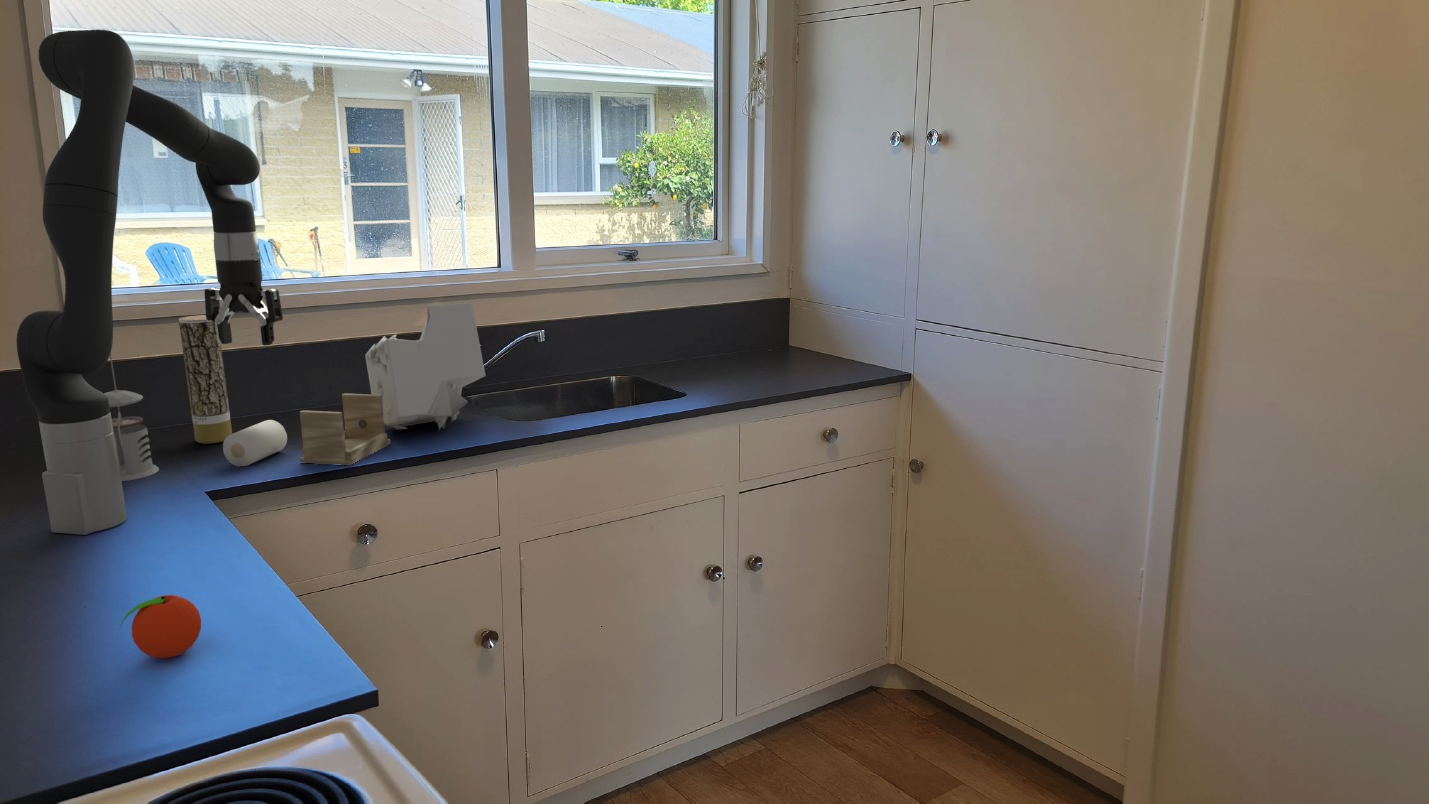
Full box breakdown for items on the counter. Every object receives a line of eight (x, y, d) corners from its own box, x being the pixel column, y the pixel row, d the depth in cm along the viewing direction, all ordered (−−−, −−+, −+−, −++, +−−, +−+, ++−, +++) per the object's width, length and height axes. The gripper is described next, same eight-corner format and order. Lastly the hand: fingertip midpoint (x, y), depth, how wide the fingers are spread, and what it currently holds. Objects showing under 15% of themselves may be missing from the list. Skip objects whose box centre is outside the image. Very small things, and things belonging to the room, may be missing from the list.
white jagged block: (396, 434, 192) (373, 309, 194) (374, 444, 205) (353, 327, 207) (494, 419, 204) (472, 302, 205) (467, 429, 217) (446, 319, 218)
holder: (349, 466, 181) (344, 413, 179) (300, 463, 183) (294, 411, 181) (390, 443, 196) (386, 395, 193) (344, 441, 198) (340, 393, 195)
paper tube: (217, 445, 195) (201, 321, 190) (187, 443, 197) (170, 320, 191) (240, 436, 202) (225, 315, 196) (211, 434, 203) (195, 314, 197)
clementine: (129, 678, 107) (119, 618, 105) (121, 654, 112) (112, 596, 110) (210, 657, 111) (202, 599, 109) (199, 634, 117) (191, 578, 115)
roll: (254, 468, 181) (250, 434, 179) (223, 466, 182) (219, 433, 181) (290, 451, 191) (286, 420, 190) (260, 450, 192) (256, 418, 191)
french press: (163, 462, 184) (144, 330, 179) (153, 480, 174) (132, 341, 168) (102, 468, 181) (81, 334, 175) (89, 487, 170) (65, 345, 165)
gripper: (189, 258, 179) (199, 346, 182) (259, 259, 176) (269, 348, 180) (216, 255, 186) (226, 340, 189) (285, 256, 183) (293, 342, 187)
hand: (247, 344), depth 184 cm, fingers open, 8 cm apart
